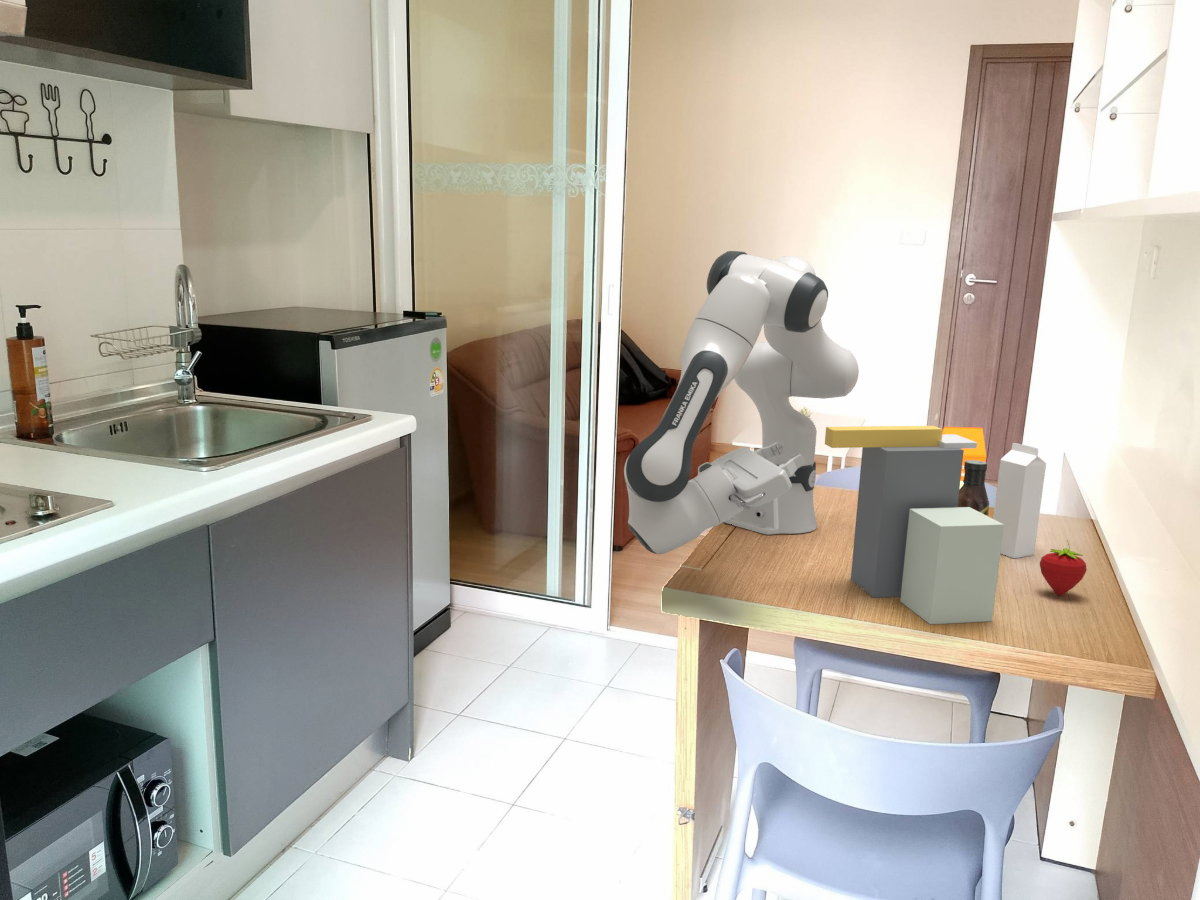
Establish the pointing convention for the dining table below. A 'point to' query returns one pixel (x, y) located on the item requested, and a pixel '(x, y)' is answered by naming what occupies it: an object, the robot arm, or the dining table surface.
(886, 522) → the tall stand
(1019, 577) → the dining table surface
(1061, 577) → the strawberry
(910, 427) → the plate
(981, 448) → the orange juice
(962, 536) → the sage green upright block
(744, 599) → the dining table surface
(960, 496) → the sauce bottle
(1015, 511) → the milk
